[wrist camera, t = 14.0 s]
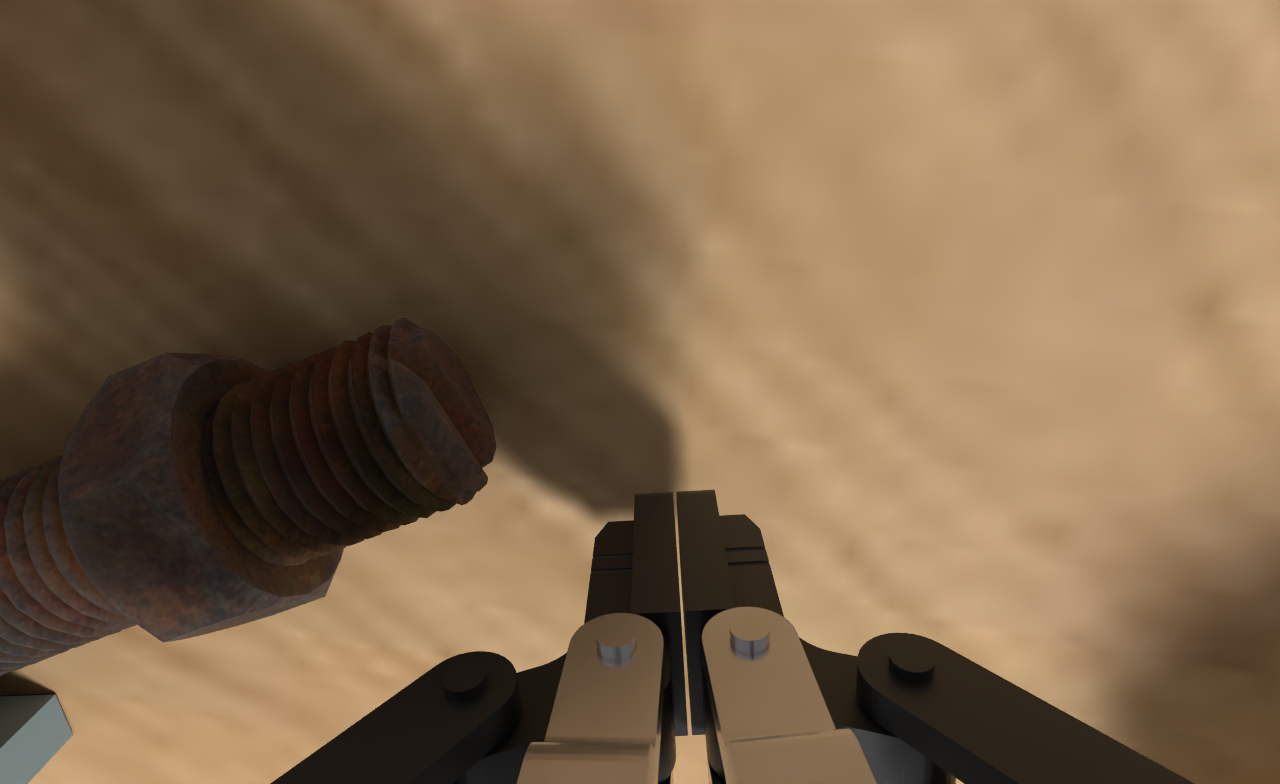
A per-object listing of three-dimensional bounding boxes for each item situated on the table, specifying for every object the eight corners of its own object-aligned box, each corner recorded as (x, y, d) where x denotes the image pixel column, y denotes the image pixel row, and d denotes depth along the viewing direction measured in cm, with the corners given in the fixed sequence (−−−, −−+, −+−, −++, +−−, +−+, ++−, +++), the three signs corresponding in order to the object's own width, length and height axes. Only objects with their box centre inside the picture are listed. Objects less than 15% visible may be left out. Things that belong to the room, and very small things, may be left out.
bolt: (512, 368, 16) (-61, 590, 17) (379, 182, 12) (-341, 489, 14) (543, 620, 12) (-194, 874, 14) (362, 465, 8) (-635, 844, 10)
